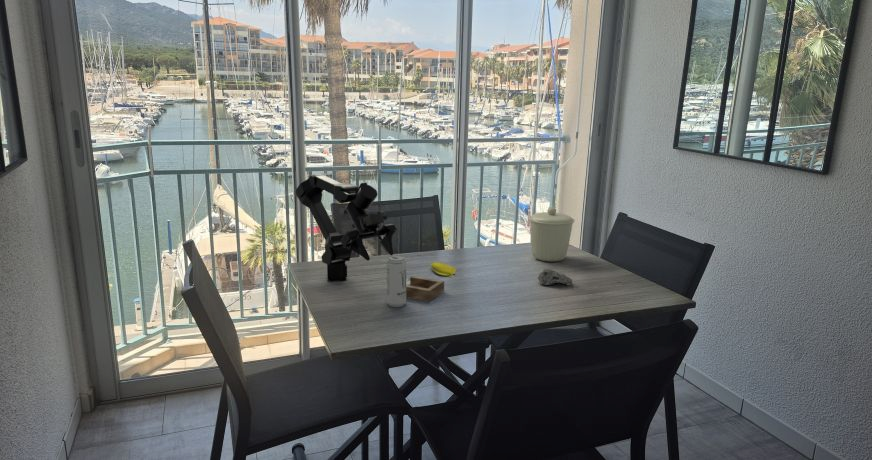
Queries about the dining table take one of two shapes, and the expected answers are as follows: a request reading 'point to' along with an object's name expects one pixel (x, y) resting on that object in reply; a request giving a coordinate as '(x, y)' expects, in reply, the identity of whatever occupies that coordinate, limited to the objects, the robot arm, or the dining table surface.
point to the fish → (443, 269)
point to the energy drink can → (396, 281)
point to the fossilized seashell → (553, 278)
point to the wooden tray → (424, 288)
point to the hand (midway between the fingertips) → (380, 257)
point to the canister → (550, 235)
